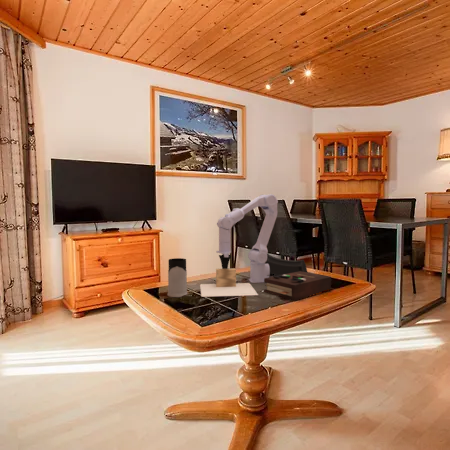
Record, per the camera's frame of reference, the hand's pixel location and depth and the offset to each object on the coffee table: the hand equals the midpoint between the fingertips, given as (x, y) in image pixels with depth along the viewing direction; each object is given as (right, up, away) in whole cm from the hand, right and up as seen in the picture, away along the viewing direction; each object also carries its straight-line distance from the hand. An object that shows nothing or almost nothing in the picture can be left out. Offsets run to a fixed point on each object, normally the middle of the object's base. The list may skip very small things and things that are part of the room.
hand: (224, 269), depth 160 cm
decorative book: (+32, -8, -13) cm, 36 cm away
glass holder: (-21, -8, -15) cm, 27 cm away
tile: (+1, -7, -5) cm, 8 cm away
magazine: (+31, -6, +19) cm, 37 cm away
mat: (+1, -8, -11) cm, 13 cm away
